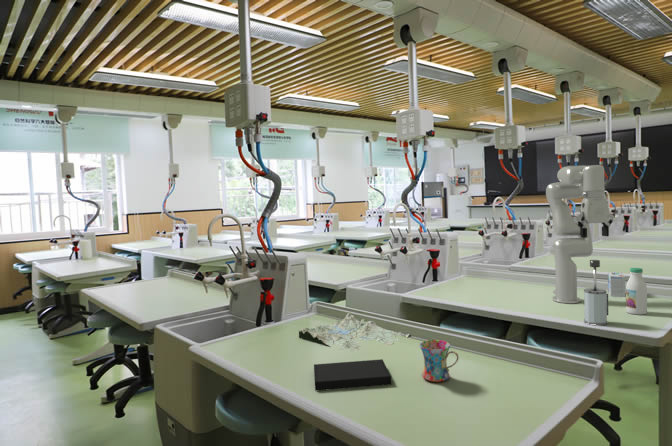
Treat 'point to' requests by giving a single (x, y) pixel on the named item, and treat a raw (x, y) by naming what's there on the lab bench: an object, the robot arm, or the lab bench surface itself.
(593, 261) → the plunger
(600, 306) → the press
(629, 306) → the milk bottle
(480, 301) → the lab bench surface
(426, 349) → the mug
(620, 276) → the light bulb box
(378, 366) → the external hard drive
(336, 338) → the topographic map model
